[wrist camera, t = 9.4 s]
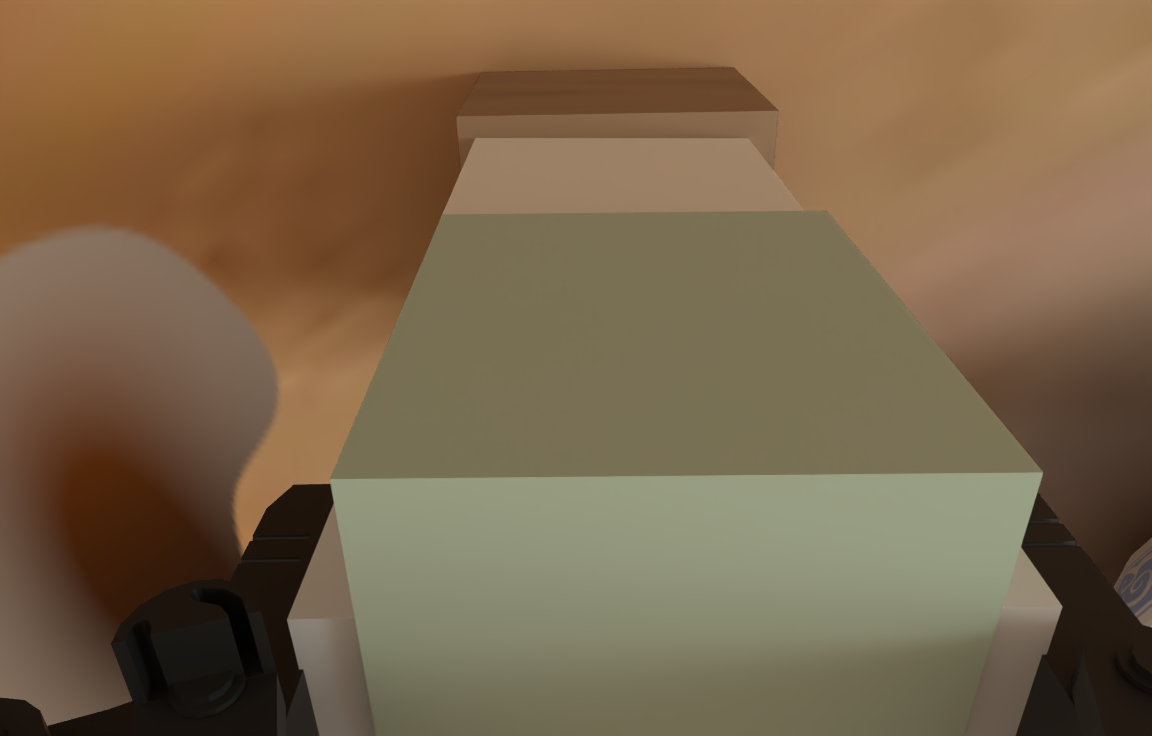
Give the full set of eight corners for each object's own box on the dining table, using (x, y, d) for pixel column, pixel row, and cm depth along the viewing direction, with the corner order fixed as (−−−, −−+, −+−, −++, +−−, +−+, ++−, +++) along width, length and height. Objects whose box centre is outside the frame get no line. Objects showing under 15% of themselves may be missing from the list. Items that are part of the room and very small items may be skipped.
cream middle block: (725, 377, 22) (775, 528, 16) (488, 377, 22) (460, 528, 16) (748, 138, 19) (817, 226, 14) (475, 138, 19) (437, 226, 13)
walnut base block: (718, 298, 27) (752, 391, 22) (497, 302, 27) (478, 396, 22) (733, 66, 24) (779, 110, 19) (482, 71, 24) (456, 116, 19)
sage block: (785, 516, 16) (915, 892, 10) (468, 519, 16) (405, 896, 10) (826, 210, 13) (1042, 472, 7) (442, 214, 13) (330, 479, 7)
